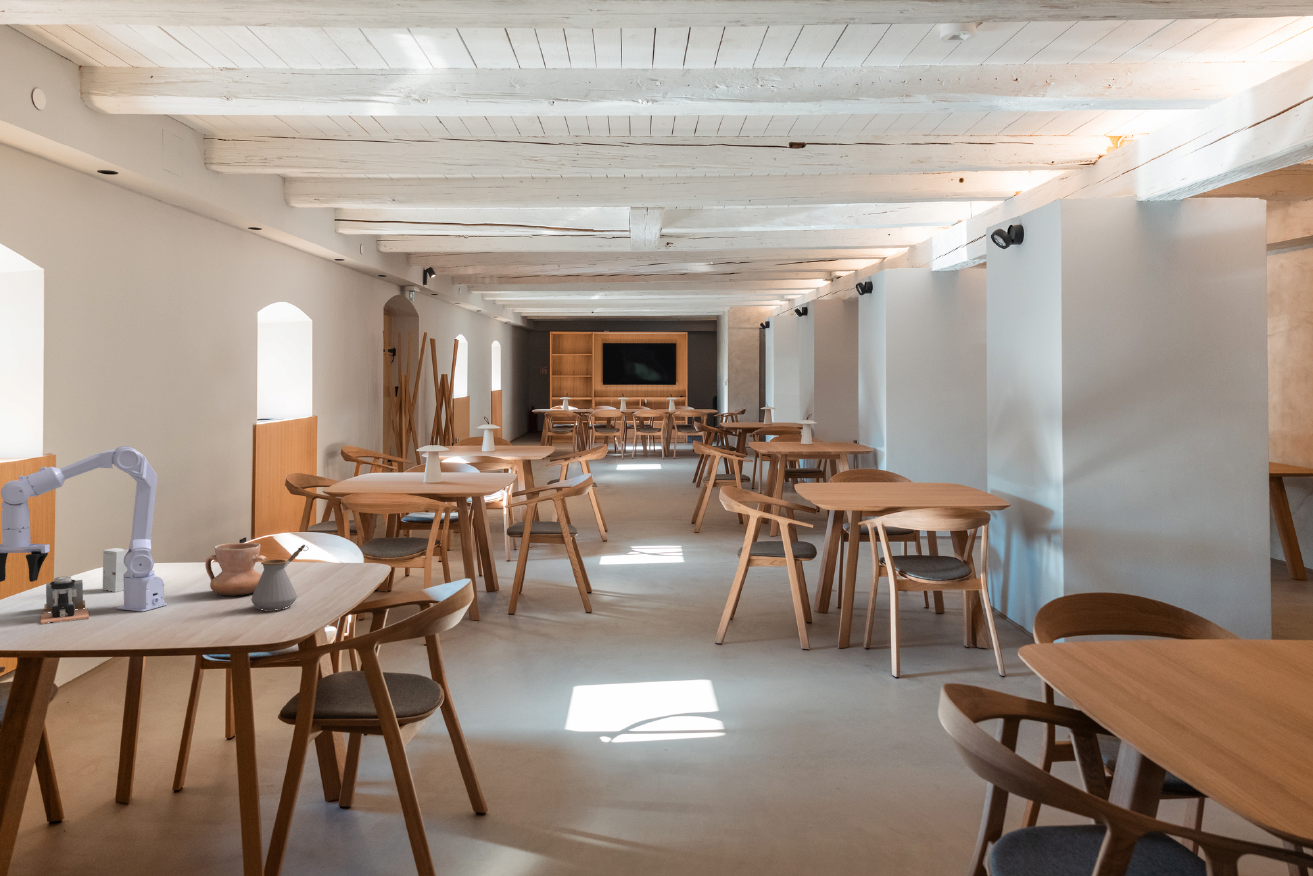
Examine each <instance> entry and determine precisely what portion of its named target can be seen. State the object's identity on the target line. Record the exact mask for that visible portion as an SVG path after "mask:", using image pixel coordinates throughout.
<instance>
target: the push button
mask: <svg viewBox="0 0 1313 876" xmlns="http://www.w3.org/2000/svg"><path fill="white" fill-rule="evenodd" d="M49 583H50V585H51V589H54V590H55V604H53V608H52V611H49V612H52V615H45V616H52V618H57V617H67V616H74V614H75V605H74V604H73V602H72V595H71V588H72V587H74V583H75V579H72V576H68V575H67V576H66V575H65V576H58V577H54V580H53V581H50V582H49ZM67 590H68V593H67ZM58 591H59V598H58ZM68 602H69V605H68ZM70 604H72V605H70ZM57 605H58V606H57ZM43 613H48V612H44V611H43Z"/></svg>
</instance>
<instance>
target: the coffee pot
mask: <svg viewBox="0 0 1313 876" xmlns="http://www.w3.org/2000/svg"><path fill="white" fill-rule="evenodd" d="M305 547H306V548H307V549H306V550H305ZM308 550H309V546H308V545H305V544H302V545H301V546H300V547H298V549H297V550H295V551H294V552H293V554H292V555H291V556H290V557H289V558H288V560H286V559H267V560H266V559H265V560H264V561H261V562H260V563H261V564H260V565H262V566H263V571H262V574H261V578H260V580H259V582H258V584H257V587H256V589H255V591H254V592H253V593H252V596H251V597H250V599H251V603H252V605H253V606H254V607H256V608H258V610H259V609H263V610H275V609H283V608H285V607H288V606H291V605H293V604H294V603H295V601H296V600H297V598H298V594H297V592H296V590H295V588H294V587H293V584H292V582H291V580H290V578H289V575H288V574H287V572H286V569H285V568H286V567H287V566H288V565H289V564H290V563H291V562H293V561H294V560H295V558H297V557H298V556H299V554H300V552H302V551H304V552H306V551H308ZM283 610H284V609H283Z"/></svg>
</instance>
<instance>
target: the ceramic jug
mask: <svg viewBox="0 0 1313 876" xmlns="http://www.w3.org/2000/svg"><path fill="white" fill-rule="evenodd" d="M260 551H261V544H260V543H256V542H237V543H236V542H234V543H233V542H232V543H222V544H221V543H220V544H218V545H217V544H216V545H215V546H214V554H212V555H209V556H208V557H207V558H206V559H205V563H204V566H205V571H206V573H207V575H208V577H209V579H210V583H209V587H210V589H211V591H212V592H214V593H215V594H219V595H222V596H227V597H231V596H232V597H233V596H234V597H237V596H238V595H239V596H245V594H246V595H250V594H253V593H254V591H255V589H256V587H257V584H258V582H259V580H260V578H261V575H262V574H261V573H260V572H258V571H256V570H255V569H254V567H255V565H256V563H257V562H259V561H261V562H263V561H266V559H267V556H265V555H260V553H261V552H260ZM212 561H215V562H217V563H218V565H219V567H220V569H221V572H219V574H217V575H216V576H215V574H214V571H212V570H213V569H212ZM239 596H238V597H239Z"/></svg>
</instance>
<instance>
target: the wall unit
mask: <svg viewBox="0 0 1313 876" xmlns="http://www.w3.org/2000/svg"><path fill="white" fill-rule="evenodd" d="M74 580H75V579H74ZM83 582H84V581H83V579H76V580H75V583H74V587H72V588H71V595H72V602H73V604H74V605H75V609H83V608H85V609H86V600H85V599H84V598H83V597H84V593H83V591H84V589H83V588H84V587H83V586H84V583H83ZM67 593H68V590H67ZM45 597H46V599H45V601H46V604H45V603H44V606H43V607H44V608H43V613H44V612H49V611H52V608H53V604H55V590H54V589H51V585H50V582H47V583H45ZM58 598H59V591H58ZM68 605H69V602H68ZM70 605H72V604H70ZM57 606H58V605H57Z"/></svg>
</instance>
